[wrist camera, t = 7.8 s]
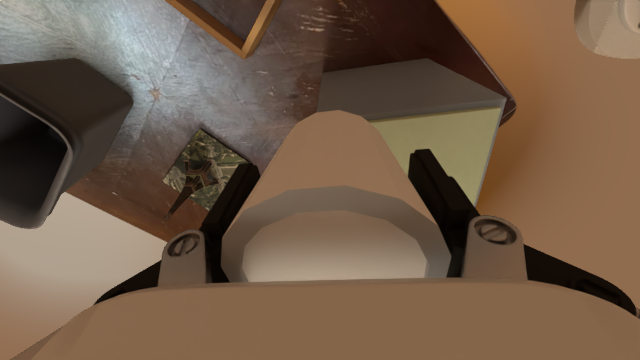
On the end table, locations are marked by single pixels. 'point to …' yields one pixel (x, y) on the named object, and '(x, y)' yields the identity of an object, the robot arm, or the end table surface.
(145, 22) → the end table surface
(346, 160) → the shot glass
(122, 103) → the storage bin
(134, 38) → the end table surface
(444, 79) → the block
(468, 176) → the mat
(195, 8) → the wooden frame
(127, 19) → the end table surface
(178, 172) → the eiffel tower figurine
